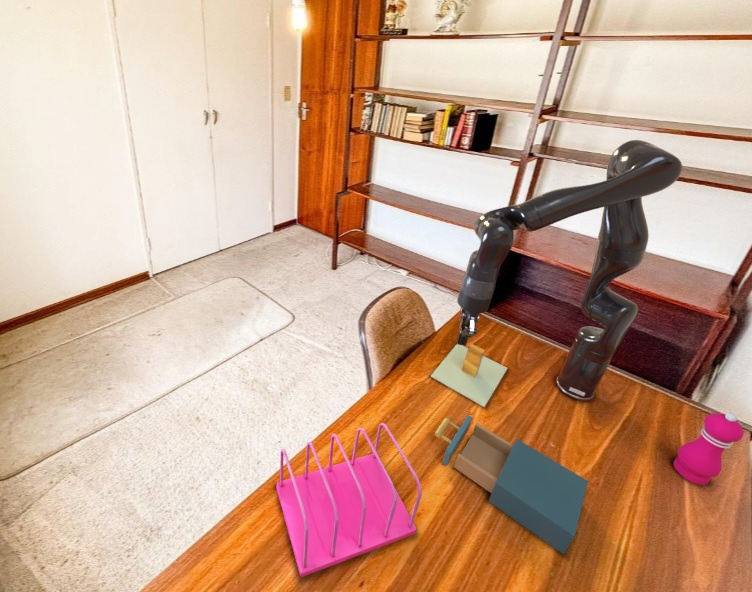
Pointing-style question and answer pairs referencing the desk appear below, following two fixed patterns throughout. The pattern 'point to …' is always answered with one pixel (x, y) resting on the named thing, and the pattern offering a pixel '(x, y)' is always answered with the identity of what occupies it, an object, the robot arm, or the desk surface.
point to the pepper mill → (708, 448)
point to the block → (473, 360)
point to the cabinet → (540, 495)
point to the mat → (466, 384)
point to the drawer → (476, 453)
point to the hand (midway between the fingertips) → (461, 343)
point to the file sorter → (343, 507)
